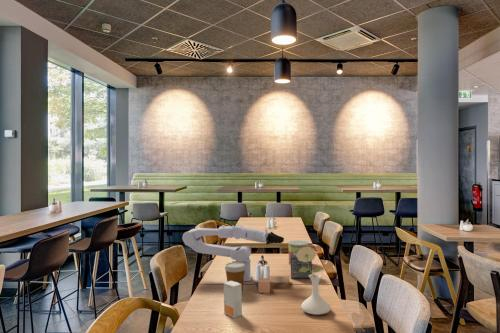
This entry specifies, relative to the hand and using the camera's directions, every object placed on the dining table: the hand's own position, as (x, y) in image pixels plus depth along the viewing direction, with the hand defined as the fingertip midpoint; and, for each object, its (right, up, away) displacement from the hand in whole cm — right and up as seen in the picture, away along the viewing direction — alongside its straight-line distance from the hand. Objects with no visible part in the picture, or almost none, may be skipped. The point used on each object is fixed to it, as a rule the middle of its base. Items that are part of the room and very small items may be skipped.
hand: (282, 240), depth 175 cm
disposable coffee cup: (-23, -21, -12) cm, 33 cm away
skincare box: (-23, -21, -37) cm, 48 cm away
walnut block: (-2, -20, -5) cm, 21 cm away
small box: (+10, -20, +6) cm, 23 cm away
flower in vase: (+9, -20, -36) cm, 42 cm away
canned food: (+12, -20, +30) cm, 38 cm away
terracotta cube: (-10, -20, -12) cm, 25 cm away
